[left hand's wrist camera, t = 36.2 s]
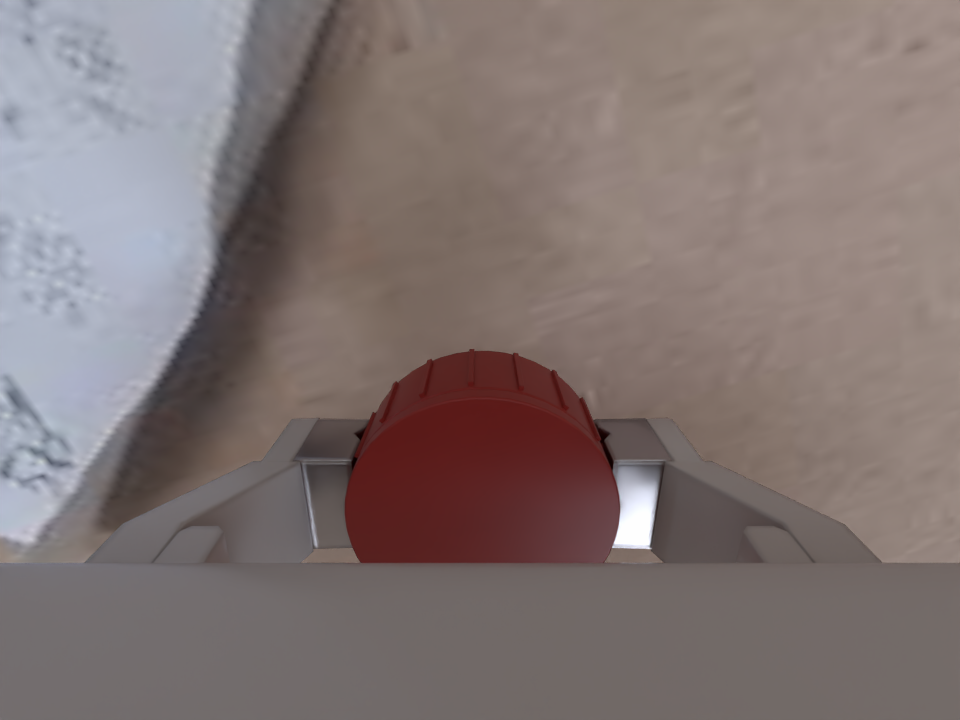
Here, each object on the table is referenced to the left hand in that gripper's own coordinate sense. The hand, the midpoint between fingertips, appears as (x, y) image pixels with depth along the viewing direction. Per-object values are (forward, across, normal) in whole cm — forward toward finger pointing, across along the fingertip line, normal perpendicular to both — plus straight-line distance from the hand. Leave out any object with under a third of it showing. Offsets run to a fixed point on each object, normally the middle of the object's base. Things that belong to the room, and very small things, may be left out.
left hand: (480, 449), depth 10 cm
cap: (-2, 0, 0) cm, 2 cm away
